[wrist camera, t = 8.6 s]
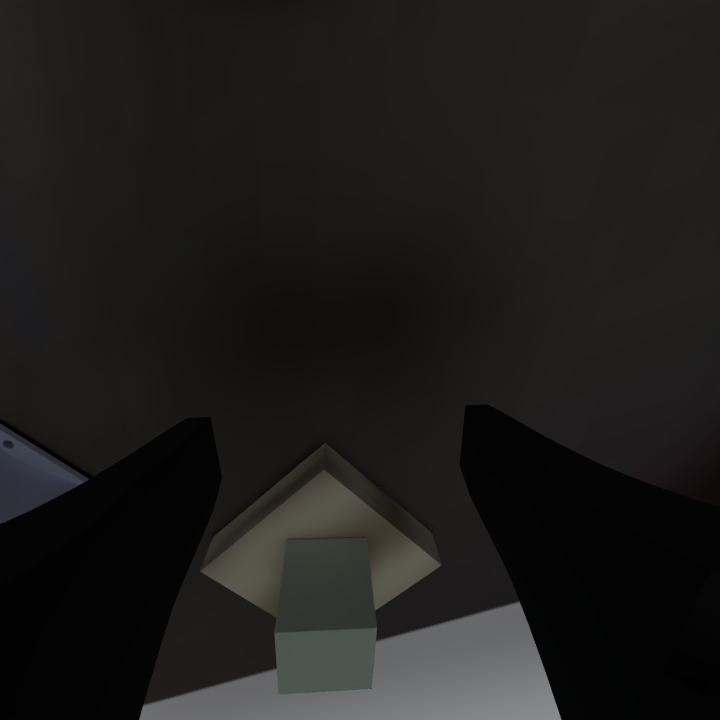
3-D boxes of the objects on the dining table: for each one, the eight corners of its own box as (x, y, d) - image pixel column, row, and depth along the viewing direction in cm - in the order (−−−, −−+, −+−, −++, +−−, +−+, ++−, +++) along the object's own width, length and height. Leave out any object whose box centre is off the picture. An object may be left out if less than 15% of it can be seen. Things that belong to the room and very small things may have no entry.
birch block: (215, 530, 24) (200, 571, 22) (325, 437, 22) (324, 469, 20) (324, 602, 28) (323, 646, 25) (430, 526, 25) (441, 565, 23)
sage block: (289, 595, 23) (278, 694, 18) (286, 539, 21) (274, 633, 16) (363, 592, 23) (371, 688, 19) (366, 537, 21) (377, 627, 17)
